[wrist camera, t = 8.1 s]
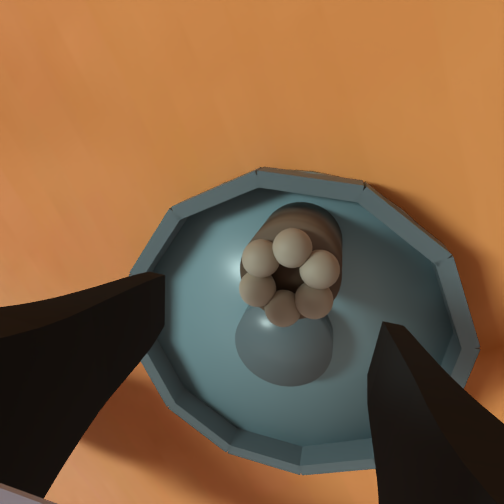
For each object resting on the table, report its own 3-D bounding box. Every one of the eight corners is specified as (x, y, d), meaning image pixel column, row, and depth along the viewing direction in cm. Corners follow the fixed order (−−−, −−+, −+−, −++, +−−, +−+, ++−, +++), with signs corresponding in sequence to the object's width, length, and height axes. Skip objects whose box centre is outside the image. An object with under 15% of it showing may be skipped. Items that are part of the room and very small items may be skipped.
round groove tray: (407, 475, 24) (413, 509, 22) (150, 401, 28) (134, 425, 25) (514, 198, 17) (538, 210, 15) (147, 148, 20) (124, 151, 18)
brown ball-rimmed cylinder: (334, 285, 20) (330, 345, 14) (257, 270, 20) (227, 322, 15) (350, 208, 18) (352, 245, 13) (266, 196, 19) (236, 225, 14)
